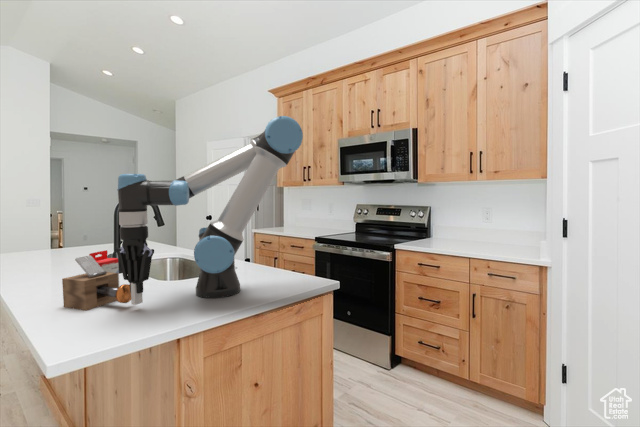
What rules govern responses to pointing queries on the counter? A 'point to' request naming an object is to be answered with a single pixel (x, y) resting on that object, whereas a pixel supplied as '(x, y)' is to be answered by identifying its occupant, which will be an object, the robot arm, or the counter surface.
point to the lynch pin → (116, 292)
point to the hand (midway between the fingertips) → (137, 303)
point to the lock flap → (90, 266)
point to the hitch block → (87, 290)
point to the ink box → (106, 262)
